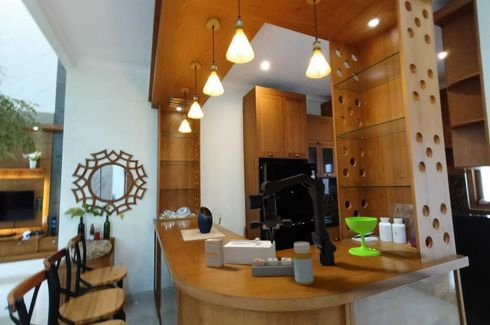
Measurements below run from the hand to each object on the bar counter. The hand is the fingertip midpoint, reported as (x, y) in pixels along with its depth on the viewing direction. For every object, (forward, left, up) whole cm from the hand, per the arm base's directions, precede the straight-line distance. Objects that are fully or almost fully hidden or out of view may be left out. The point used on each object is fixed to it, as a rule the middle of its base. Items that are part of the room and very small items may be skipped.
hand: (272, 243), depth 111 cm
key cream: (-6, 0, -9) cm, 11 cm away
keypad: (0, 0, -12) cm, 12 cm away
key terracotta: (+6, 0, -9) cm, 11 cm away
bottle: (-12, +13, -13) cm, 21 cm away
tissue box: (+12, -20, -13) cm, 27 cm away
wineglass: (-50, -28, -13) cm, 59 cm away
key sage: (0, 0, -9) cm, 9 cm away
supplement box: (+29, -11, -13) cm, 34 cm away
